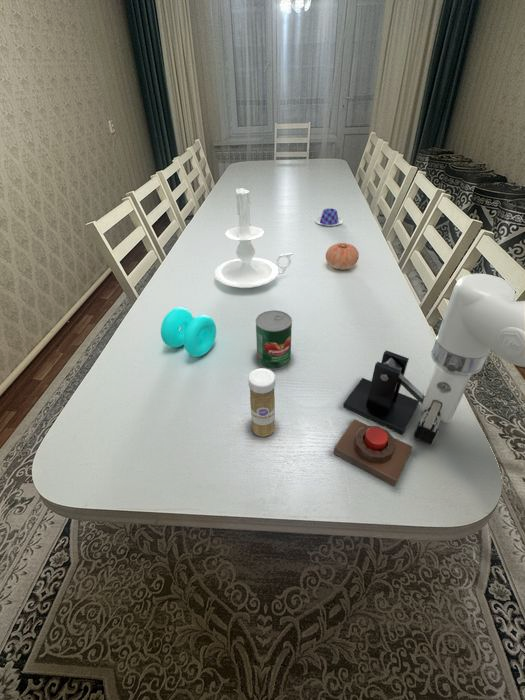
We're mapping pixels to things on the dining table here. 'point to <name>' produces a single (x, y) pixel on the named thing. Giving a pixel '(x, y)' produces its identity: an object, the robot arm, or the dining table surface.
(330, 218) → the pudding
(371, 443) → the button
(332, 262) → the orange round vegetable
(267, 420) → the sprinkles bottle
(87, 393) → the dining table surface
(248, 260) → the candlestick
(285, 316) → the canned tomato
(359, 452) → the button block
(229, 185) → the dining table surface
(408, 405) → the bracket
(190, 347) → the turquoise yoyo
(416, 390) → the lever
